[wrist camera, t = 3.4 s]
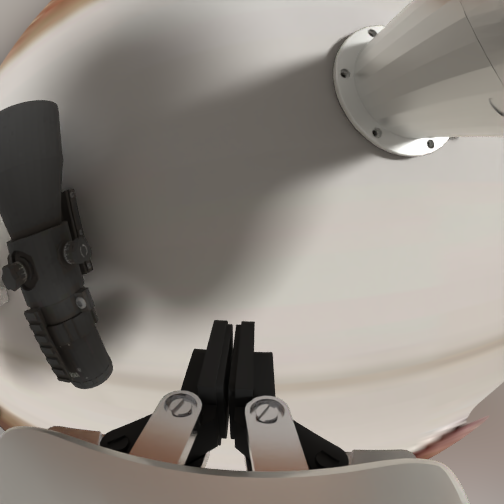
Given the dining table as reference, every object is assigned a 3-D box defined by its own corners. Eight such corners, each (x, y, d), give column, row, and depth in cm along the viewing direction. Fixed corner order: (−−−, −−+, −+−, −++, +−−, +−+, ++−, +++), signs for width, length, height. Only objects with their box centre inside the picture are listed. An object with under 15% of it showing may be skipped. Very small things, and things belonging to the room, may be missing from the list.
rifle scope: (78, 344, 29) (38, 395, 19) (23, 136, 21) (-43, 141, 11) (148, 347, 28) (113, 412, 19) (92, 101, 20) (19, 86, 11)
